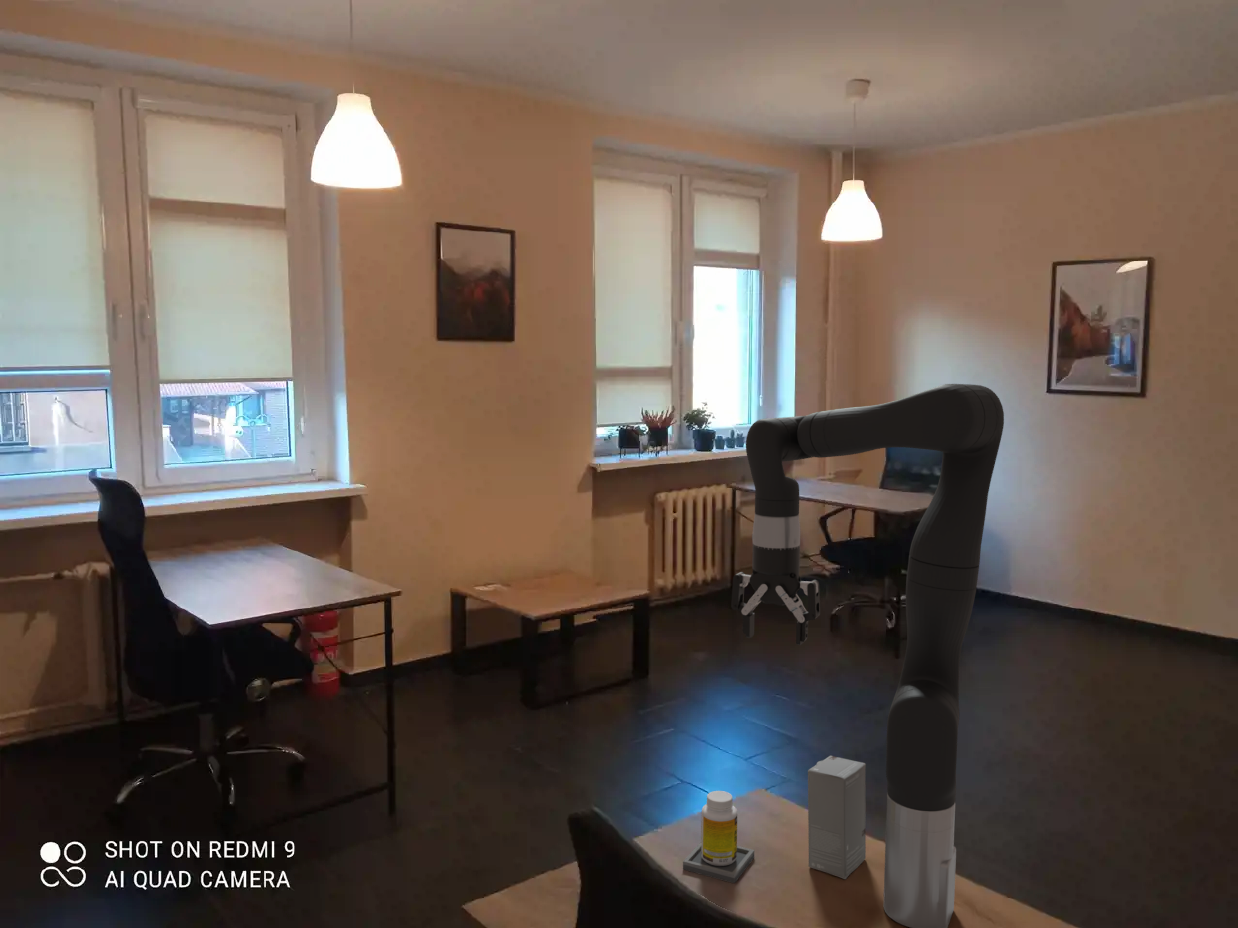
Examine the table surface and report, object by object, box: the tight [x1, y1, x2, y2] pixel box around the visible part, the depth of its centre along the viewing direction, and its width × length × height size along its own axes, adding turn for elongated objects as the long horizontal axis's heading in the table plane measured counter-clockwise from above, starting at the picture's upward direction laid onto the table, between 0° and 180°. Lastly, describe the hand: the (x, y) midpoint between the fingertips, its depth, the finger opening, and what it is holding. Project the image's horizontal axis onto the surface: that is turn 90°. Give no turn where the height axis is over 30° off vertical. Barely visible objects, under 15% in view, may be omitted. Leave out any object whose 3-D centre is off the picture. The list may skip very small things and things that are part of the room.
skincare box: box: [807, 755, 867, 880], centre depth 151 cm, size 8×7×16 cm
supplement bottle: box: [700, 790, 738, 866], centre depth 151 cm, size 6×6×10 cm
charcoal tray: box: [682, 841, 755, 884], centre depth 152 cm, size 8×8×1 cm
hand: (774, 639), depth 158 cm, fingers open, 8 cm apart
